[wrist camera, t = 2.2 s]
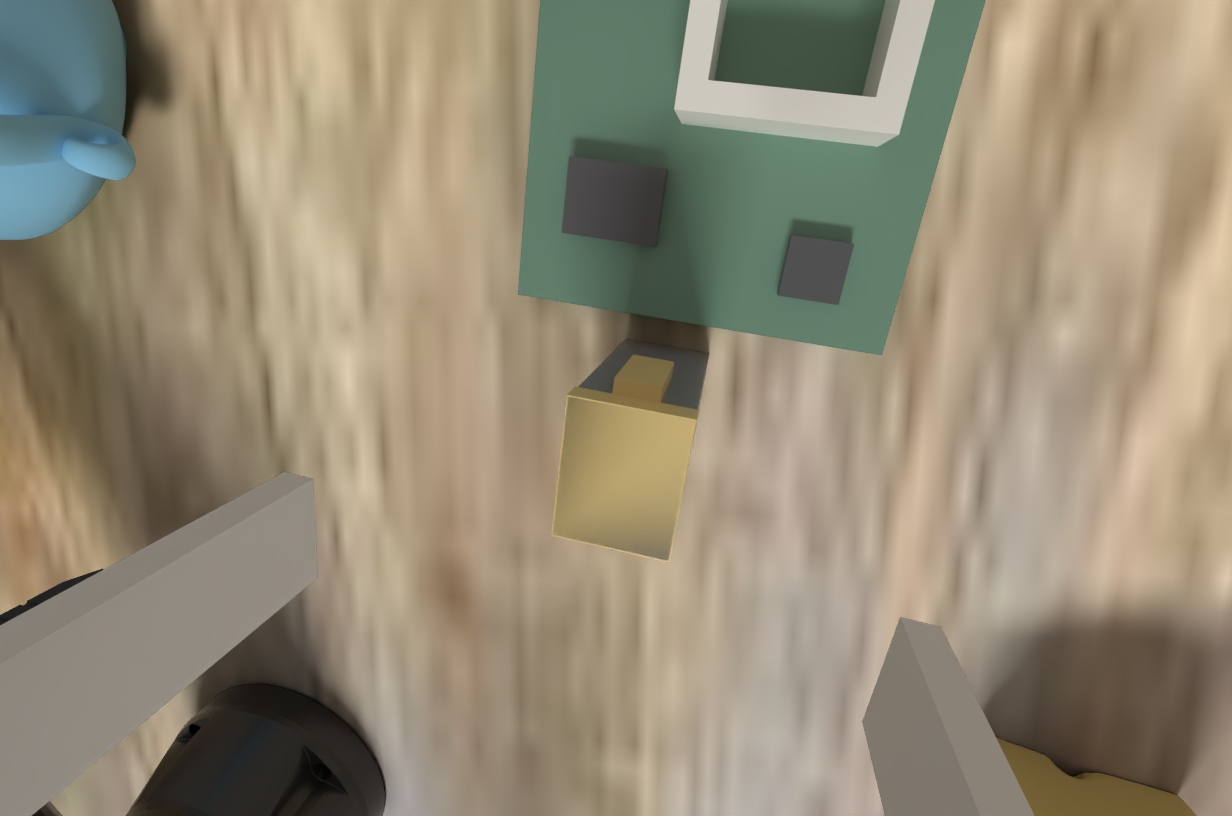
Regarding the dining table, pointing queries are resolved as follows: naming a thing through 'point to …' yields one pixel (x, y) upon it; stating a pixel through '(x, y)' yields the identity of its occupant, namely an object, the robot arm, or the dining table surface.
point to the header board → (739, 158)
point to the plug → (629, 449)
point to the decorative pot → (59, 111)
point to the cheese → (1084, 790)
